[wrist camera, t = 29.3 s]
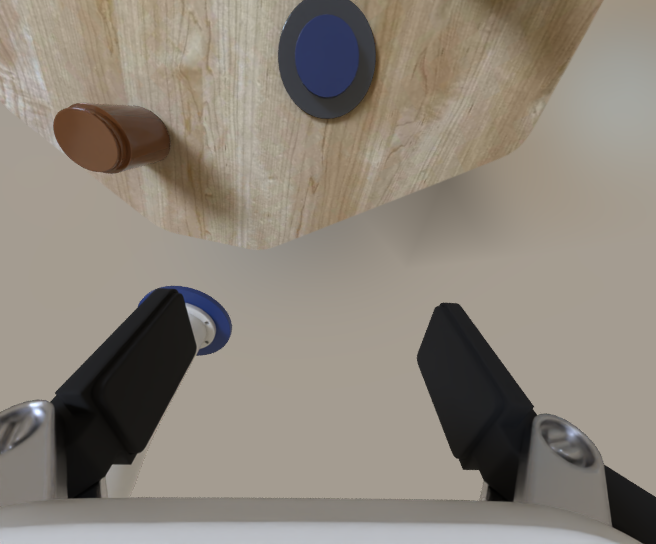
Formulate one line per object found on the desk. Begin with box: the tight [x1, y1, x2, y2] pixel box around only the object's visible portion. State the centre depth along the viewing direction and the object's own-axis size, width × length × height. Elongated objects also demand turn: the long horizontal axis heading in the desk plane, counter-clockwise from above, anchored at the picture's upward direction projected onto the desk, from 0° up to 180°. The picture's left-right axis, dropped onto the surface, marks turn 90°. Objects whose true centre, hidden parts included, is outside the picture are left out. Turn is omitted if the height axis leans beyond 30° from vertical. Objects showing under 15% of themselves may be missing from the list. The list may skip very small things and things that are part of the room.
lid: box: [295, 14, 359, 99], centre depth 28 cm, size 7×7×2 cm
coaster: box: [278, 0, 376, 119], centre depth 29 cm, size 11×11×1 cm
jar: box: [53, 103, 170, 174], centre depth 29 cm, size 6×6×9 cm
